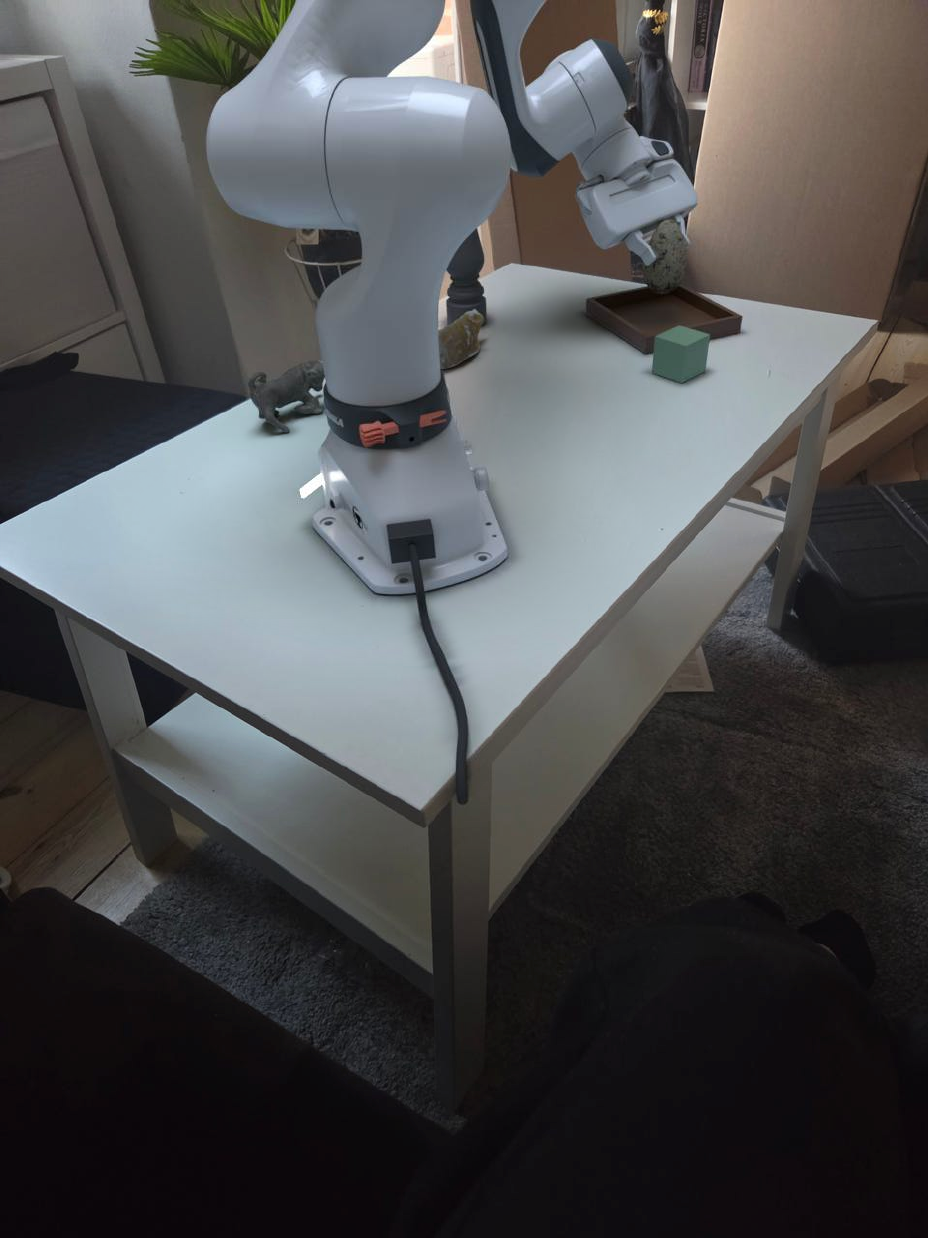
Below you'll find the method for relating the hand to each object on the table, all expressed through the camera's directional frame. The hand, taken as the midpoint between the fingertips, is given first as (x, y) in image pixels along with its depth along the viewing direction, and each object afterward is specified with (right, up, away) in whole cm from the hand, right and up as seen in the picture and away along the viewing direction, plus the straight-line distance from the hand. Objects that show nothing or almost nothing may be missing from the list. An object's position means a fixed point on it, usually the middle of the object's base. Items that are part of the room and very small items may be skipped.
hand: (669, 255), depth 119 cm
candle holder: (-28, -6, +11) cm, 31 cm away
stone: (-31, -14, +2) cm, 34 cm away
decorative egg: (0, -4, +4) cm, 6 cm away
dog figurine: (-50, -25, -10) cm, 57 cm away
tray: (0, -7, +7) cm, 10 cm away
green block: (0, -18, -7) cm, 20 cm away
